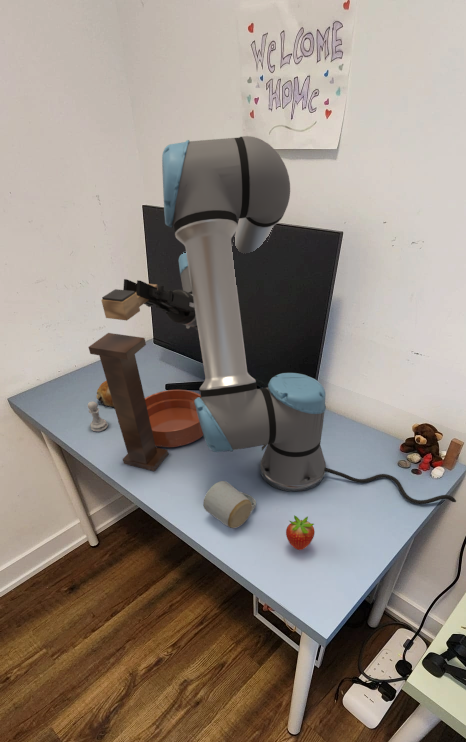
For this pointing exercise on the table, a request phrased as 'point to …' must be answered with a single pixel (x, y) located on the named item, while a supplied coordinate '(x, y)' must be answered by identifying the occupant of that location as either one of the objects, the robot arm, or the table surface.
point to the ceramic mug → (228, 504)
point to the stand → (129, 398)
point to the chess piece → (96, 418)
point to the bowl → (174, 417)
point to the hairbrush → (122, 304)
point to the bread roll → (104, 394)
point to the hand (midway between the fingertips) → (131, 287)
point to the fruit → (300, 533)
